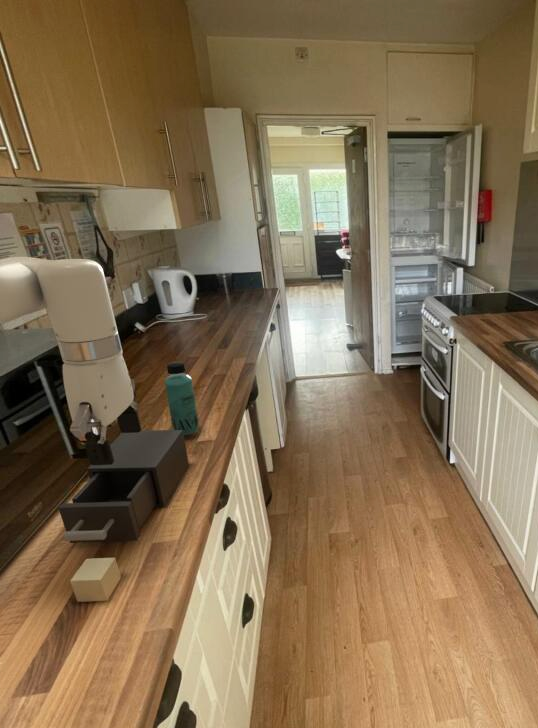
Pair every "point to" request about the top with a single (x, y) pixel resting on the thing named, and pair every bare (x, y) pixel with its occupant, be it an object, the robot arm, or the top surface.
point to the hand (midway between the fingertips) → (118, 446)
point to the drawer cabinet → (150, 458)
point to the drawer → (110, 507)
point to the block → (95, 579)
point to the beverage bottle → (181, 399)
